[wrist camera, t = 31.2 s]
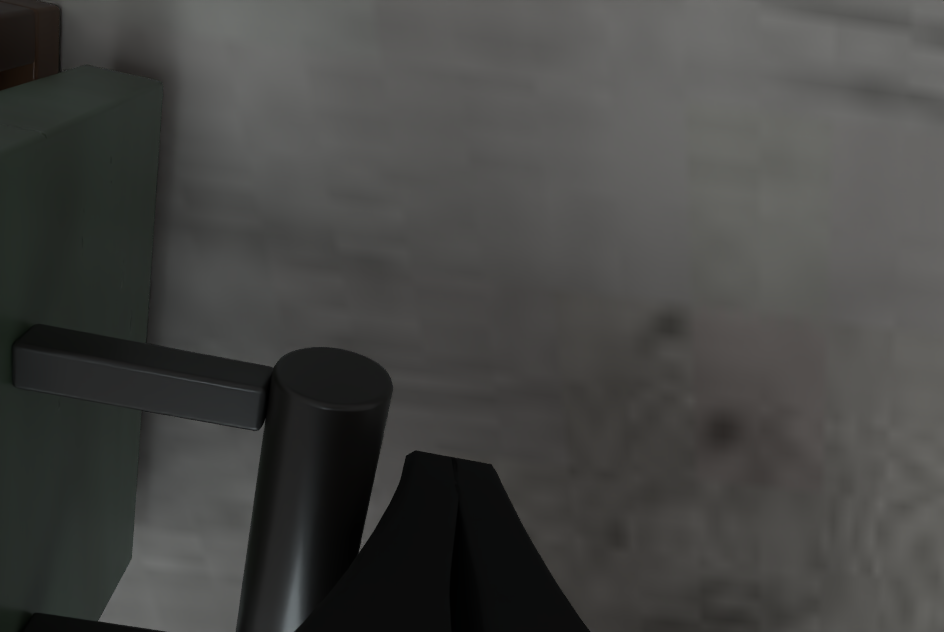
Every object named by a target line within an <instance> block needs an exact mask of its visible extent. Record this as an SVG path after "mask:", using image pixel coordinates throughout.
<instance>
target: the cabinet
mask: <svg viewBox="0 0 944 632" xmlns="http://www.w3.org/2000/svg"><path fill="white" fill-rule="evenodd" d="M59 17H60V10H59V7H58V6H56V5H53V4H48V3H44V2H39V1H35V0H0V91H1V90H5V89H8V88H11V87H14V86H18V85H21V84H24V83H27V82H31V81H34V80H37V79H40V78H44V77H47V76H50V75H53V74H57V73H59Z"/></svg>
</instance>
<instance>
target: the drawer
mask: <svg viewBox="0 0 944 632" xmlns="http://www.w3.org/2000/svg"><path fill="white" fill-rule="evenodd" d="M162 98H163V84H162V82H160V81H159V80H155V79H150V78H146V77H141V76H137V75H132V74H128V73H123V72H119V71H114V70H110V69H105V68H100V67H96V66H91V65H83V66H80V67H76V68H73V69H70V70H67V71H63V72H60V73H57V74H53V75H50V76H47V77H44V78H40V79H37V80H34V81H31V82H27V83H24V84H21V85H18V86H14V87H11V88H8V89H5V90H1V91H0V632H165V631H158V630H152V629H145V628H138V627H132V626H125V625H118V624H112V623H105V622H98V620H99V618H100V616H101V615H102V613H103V611H104V609H105V607H106V605H107V603H108V602H109V600H110V598H111V596H112V594H113V592H114V590H115V589H116V587H117V585H118V583H119V581H120V579H121V577H122V575H123V574H124V572H125V570H126V568H127V566H128V564H129V562H130V561H131V559H132V547H133V532H134V517H135V502H136V487H137V472H138V457H139V442H140V427H141V412H142V411H146V412H152V413H157V414H163V415H169V416H174V417H180V418H186V419H191V420H197V421H202V422H208V423H214V424H219V425H225V426H230V427H236V428H242V429H247V430H253V431H257V430H259V429H260V428H261V427H262V425H263V423H264V421H265V426H264V433H263V441H262V448H261V455H260V462H259V469H258V476H257V483H256V491H255V498H254V505H253V512H252V519H251V526H250V533H249V541H248V548H247V555H246V562H245V569H244V576H243V583H242V591H241V598H240V605H239V612H238V619H237V626H236V632H294V631H295V630H296V629H297V628H298V627H299V626H300V625H301V624H302V623H303V622H304V621H305V620H306V619H307V618H308V617H309V615H310V614H311V613H312V612H313V611H314V610H315V609H316V607H317V606H318V605H319V604H320V603H321V602H322V601H323V599H324V598H325V597H326V596H327V595H328V593H329V592H330V591H331V590H332V589H333V587H334V586H335V585H336V584H337V582H338V581H339V580H340V578H341V577H342V576H343V575H344V573H345V572H346V571H347V569H348V568H349V566H350V565H351V564H352V562H353V561H354V559H355V558H356V557H357V555H358V553H359V549H360V544H361V539H362V534H363V530H364V525H365V520H366V515H367V511H368V506H369V501H370V496H371V492H372V487H373V482H374V478H375V473H376V468H377V463H378V459H379V454H380V449H381V444H382V440H383V435H384V430H385V426H386V421H387V416H388V411H389V407H390V402H391V397H392V392H393V385H392V381H391V378H390V376H389V374H388V373H387V371H386V370H385V369H384V368H383V367H382V366H381V365H379V364H378V363H376V362H375V361H373V360H371V359H370V358H368V357H365V356H363V355H361V354H358V353H355V352H351V351H348V350H343V349H337V348H329V347H312V348H304V349H299V350H295V351H292V352H290V353H288V354H286V355H284V356H283V357H281V358H280V359H279V360H278V362H277V363H276V365H275V366H274V368H272V367H270V366H265V365H259V364H254V363H249V362H243V361H238V360H232V359H227V358H222V357H216V356H211V355H206V354H200V353H195V352H190V351H184V350H179V349H174V348H168V347H163V346H158V345H152V344H147V343H146V337H147V322H148V308H149V293H150V278H151V263H152V248H153V233H154V218H155V203H156V188H157V173H158V158H159V143H160V128H161V113H162ZM265 418H266V419H265Z"/></svg>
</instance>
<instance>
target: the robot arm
mask: <svg viewBox="0 0 944 632" xmlns="http://www.w3.org/2000/svg"><path fill="white" fill-rule="evenodd" d="M294 632H590V631H589V629H588V628H587V627H586V625H585V624H584V623H583V621H582V620H581V618H580V617H579V616H578V614H577V613H576V611H575V610H574V608H573V607H572V605H571V604H570V602H569V601H568V599H567V598H566V596H565V595H564V593H563V592H562V590H561V589H560V587H559V586H558V584H557V583H556V581H555V579H554V578H553V576H552V575H551V573H550V572H549V570H548V568H547V567H546V565H545V563H544V561H543V560H542V558H541V556H540V555H539V553H538V551H537V549H536V548H535V546H534V544H533V543H532V541H531V539H530V537H529V535H528V534H527V532H526V530H525V528H524V526H523V524H522V523H521V521H520V519H519V517H518V515H517V513H516V511H515V509H514V507H513V505H512V503H511V501H510V499H509V497H508V495H507V493H506V491H505V489H504V487H503V485H502V483H501V481H500V478H499V476H498V474H497V472H496V471H495V469H494V468H493V466H492V464H487V463H481V462H476V461H470V460H465V459H459V458H454V457H448V456H443V455H437V454H432V453H426V452H421V451H414V452H412V453H410V454H408V455H406V458H405V463H404V467H403V471H402V476H401V480H400V482H399V485H398V487H397V489H396V491H395V493H394V496H393V498H392V500H391V502H390V504H389V506H388V507H387V509H386V511H385V512H384V514H383V516H382V518H381V519H380V521H379V523H378V525H377V526H376V528H375V530H374V532H373V533H372V535H371V536H370V538H369V539H368V541H367V542H366V544H365V545H364V547H363V548H362V549H361V551H360V552H359V554H358V555H357V557H356V558H355V559H354V561H353V562H352V564H351V565H350V566H349V568H348V569H347V571H346V572H345V573H344V575H343V576H342V577H341V578H340V580H339V581H338V582H337V584H336V585H335V586H334V587H333V589H332V590H331V591H330V592H329V593H328V595H327V596H326V597H325V598H324V599H323V601H322V602H321V603H320V604H319V605H318V606H317V607H316V609H315V610H314V611H313V612H312V613H311V614H310V615H309V617H308V618H307V619H306V620H305V621H304V622H303V623H302V624H301V625H300V626H299V627H298V628H297V629H296V630H295V631H294Z"/></svg>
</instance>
